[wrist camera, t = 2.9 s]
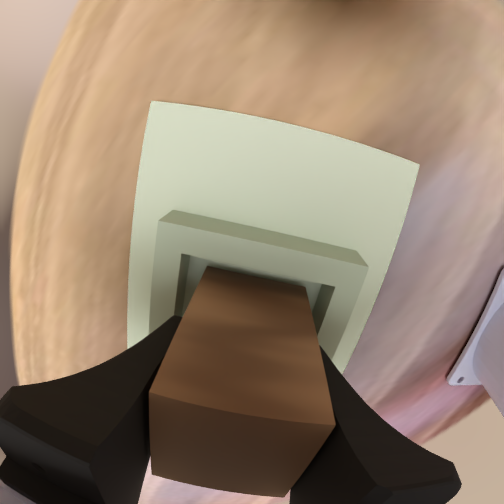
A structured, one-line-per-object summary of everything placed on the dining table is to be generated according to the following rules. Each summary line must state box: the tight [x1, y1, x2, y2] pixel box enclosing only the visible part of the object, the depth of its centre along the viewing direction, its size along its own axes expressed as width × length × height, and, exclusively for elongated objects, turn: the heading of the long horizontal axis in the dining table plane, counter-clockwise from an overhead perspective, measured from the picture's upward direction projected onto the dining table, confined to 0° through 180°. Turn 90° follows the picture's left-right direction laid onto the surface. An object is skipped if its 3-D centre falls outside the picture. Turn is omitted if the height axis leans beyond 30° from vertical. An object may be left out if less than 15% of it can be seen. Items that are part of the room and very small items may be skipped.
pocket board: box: [127, 101, 420, 374], centre depth 14 cm, size 11×22×2 cm, turn 168°
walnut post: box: [149, 266, 336, 497], centre depth 10 cm, size 4×4×7 cm
